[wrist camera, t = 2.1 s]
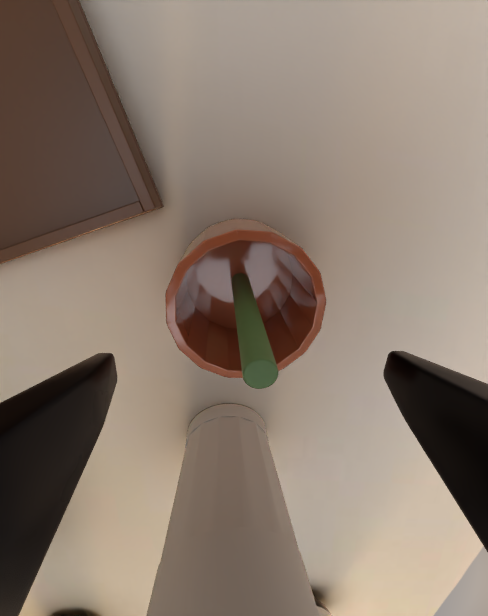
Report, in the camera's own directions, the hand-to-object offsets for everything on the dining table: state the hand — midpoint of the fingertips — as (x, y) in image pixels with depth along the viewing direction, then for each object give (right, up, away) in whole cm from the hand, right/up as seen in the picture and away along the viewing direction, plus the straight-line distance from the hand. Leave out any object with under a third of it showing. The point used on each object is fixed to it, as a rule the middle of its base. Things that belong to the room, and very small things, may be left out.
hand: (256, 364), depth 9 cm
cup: (-2, -8, +14) cm, 16 cm away
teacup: (-1, +4, +8) cm, 9 cm away
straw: (-1, +3, +8) cm, 9 cm away
